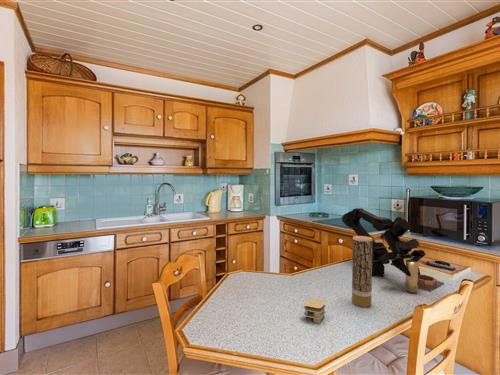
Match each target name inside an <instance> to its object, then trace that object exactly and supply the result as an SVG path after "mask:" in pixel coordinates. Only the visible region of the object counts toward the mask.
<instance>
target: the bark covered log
mask: <svg viewBox="0 0 500 375" xmlns="http://www.w3.org/2000/svg"><path fill="white" fill-rule="evenodd" d="M371 237H372V236H371ZM371 237H366V236H358V235H354V236H353V237H352V262H351V264H352V265H351V266H352V269H351V271H352V272H351V273H352V274H351V278H352V279H351V283H352V284H351V303H352V304H354V305H356V306H357V307H361V308H368V307H370V306H371V305H372V293H373V292H372V290H373V288H372V287H373V286H372V285H373V276H372V241H373V240H374V239H373V240H372V238H373V237H372V238H371Z"/></svg>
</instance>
